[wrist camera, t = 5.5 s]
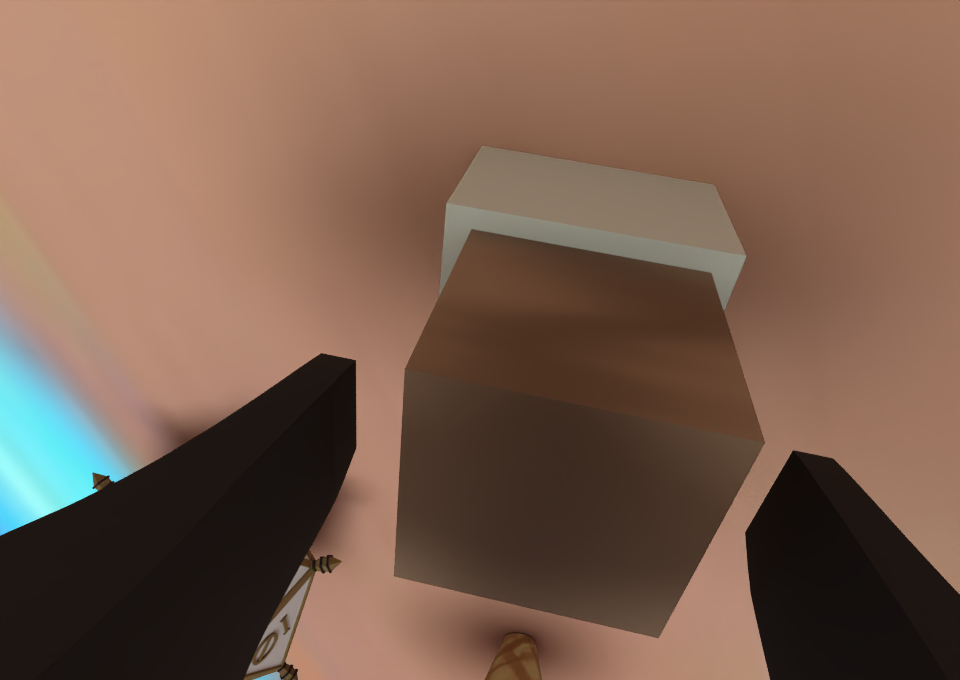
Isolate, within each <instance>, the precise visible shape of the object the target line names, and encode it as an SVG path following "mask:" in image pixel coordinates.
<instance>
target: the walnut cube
mask: <svg viewBox="0 0 960 680" xmlns="http://www.w3.org/2000/svg"><path fill="white" fill-rule="evenodd" d="M764 443H765V441H764V438H763V435H762V432H761V429H760V425H759V422H758V419H757V416H756V413H755V409H754V406H753V403H752V400H751V397H750V394H749V390H748V387H747V384H746V381H745V378H744V374H743V371H742V368H741V365H740V362H739V359H738V355H737V352H736V349H735V346H734V343H733V340H732V336H731V333H730V330H729V327H728V324H727V320H726V317H725V314H724V311H723V308H722V305H721V301H720V298H719V295H718V292H717V289H716V285H715V282H714V279H713V276H712V273H709V272H704V271H698V270H693V269H687V268H682V267H676V266H671V265H665V264H660V263H654V262H649V261H644V260H638V259H633V258H627V257H622V256H616V255H611V254H605V253H600V252H594V251H589V250H583V249H578V248H572V247H567V246H562V245H556V244H551V243H545V242H540V241H534V240H529V239H523V238H518V237H512V236H507V235H501V234H496V233H490V232H485V231H480V230H474V229H471V231H470V233H469V235H468V238H467V240H466V242H465V244H464V246H463V248H462V250H461V252H460V254H459V256H458V259H457V261H456V263H455V265H454V267H453V269H452V271H451V273H450V275H449V277H448V280H447V282H446V284H445V286H444V288H443V290H442V292H441V294H440V296H439V298H438V301H437V303H436V305H435V307H434V309H433V311H432V313H431V315H430V317H429V319H428V322H427V324H426V326H425V328H424V330H423V332H422V334H421V336H420V338H419V340H418V343H417V345H416V347H415V349H414V351H413V353H412V355H411V357H410V359H409V361H408V364H407V366H406V368H405V377H404V396H403V415H402V434H401V453H400V472H399V490H398V509H397V528H396V547H395V566H394V576H395V577H399V578H403V579H408V580H412V581H416V582H421V583H425V584H429V585H433V586H438V587H442V588H446V589H450V590H455V591H459V592H463V593H468V594H472V595H476V596H480V597H485V598H489V599H493V600H497V601H502V602H506V603H510V604H515V605H519V606H523V607H527V608H532V609H536V610H540V611H544V612H549V613H553V614H557V615H561V616H566V617H570V618H574V619H579V620H583V621H587V622H591V623H596V624H600V625H604V626H608V627H613V628H617V629H621V630H626V631H630V632H634V633H638V634H643V635H647V636H651V637H655V638H659V636H660V634H661V633H662V631H663V629H664V627H665V625H666V623H667V622H668V620H669V618H670V616H671V614H672V612H673V611H674V609H675V607H676V605H677V603H678V601H679V600H680V598H681V596H682V594H683V592H684V590H685V589H686V587H687V585H688V583H689V581H690V579H691V578H692V576H693V574H694V572H695V570H696V568H697V567H698V565H699V563H700V561H701V559H702V557H703V555H704V554H705V552H706V550H707V548H708V546H709V544H710V543H711V541H712V539H713V537H714V535H715V533H716V532H717V530H718V528H719V526H720V524H721V522H722V521H723V519H724V517H725V515H726V513H727V511H728V510H729V508H730V506H731V504H732V502H733V500H734V499H735V497H736V495H737V493H738V491H739V489H740V488H741V486H742V484H743V482H744V480H745V478H746V477H747V475H748V473H749V471H750V469H751V467H752V465H753V464H754V462H755V460H756V458H757V456H758V454H759V453H760V451H761V449H762V447H763V445H764Z"/></svg>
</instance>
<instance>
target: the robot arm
mask: <svg viewBox="0 0 960 680" xmlns="http://www.w3.org/2000/svg"><path fill="white" fill-rule="evenodd" d="M355 450H356V360H352V359H347V358H342V357H337V356H332V355H327V354H322V353H321V354H320V355H318V356H317V357H315V358H314V359H312V360H311V361H309V362H307V363H306V364H304V365H303V366H302V367H300V368H299V369H297V370H296V371H294V372H293V373H291V374H290V375H289V376H287V377H286V378H284V379H283V380H281V381H280V382H278V383H277V384H276V385H274V386H273V387H271V388H270V389H268V390H267V391H265V392H264V393H263V394H261V395H260V396H258V397H257V398H255V399H254V400H252V401H251V402H249V403H248V404H246V405H245V406H243V407H242V408H240V409H239V410H237V411H236V412H234V413H233V414H231V415H230V416H228V417H227V418H225V419H223V420H222V421H220V422H219V423H217V424H216V425H214V426H213V427H211V428H210V429H208V430H206V431H205V432H203V433H201V434H200V435H198V436H196V437H195V438H193V439H191V440H190V441H188V442H186V443H185V444H183V445H181V446H180V447H178V448H177V449H175V450H173V451H172V452H170V453H168V454H167V455H165V456H163V457H162V458H160V459H158V460H156V461H155V462H153V463H151V464H149V465H147V466H146V467H144V468H142V469H140V470H138V471H136V472H134V473H133V474H131V475H129V476H127V477H125V478H123V479H121V480H119V481H117V482H115V483H113V484H111V485H109V486H107V487H105V488H103V489H101V490H99V491H97V492H95V493H93V494H91V495H89V496H87V497H86V498H83V499H81V500H79V501H77V502H75V503H73V504H71V505H69V506H67V507H64V508H62V509H60V510H58V511H55V512H53V513H51V514H49V515H46V516H44V517H42V518H39V519H37V520H35V521H33V522H30V523H28V524H26V525H24V526H21V527H19V528H17V529H14V530H12V531H10V532H8V533H5V534H3V535H1V536H0V680H244V678H245V675H246V673H247V671H248V668H249V666H250V664H251V661H252V659H253V657H254V654H255V652H256V650H257V647H258V645H259V643H260V641H261V639H262V637H263V635H264V633H265V631H266V629H267V627H268V625H269V623H270V621H271V619H272V617H273V615H274V613H275V611H276V609H277V608H278V606H279V604H280V602H281V600H282V598H283V597H284V595H285V593H286V591H287V589H288V587H289V586H290V584H291V582H292V580H293V578H294V576H295V575H296V573H297V571H298V569H299V567H300V565H301V564H302V562H303V560H304V558H305V556H306V554H307V553H308V551H309V549H310V547H311V545H312V543H313V542H314V540H315V538H316V536H317V534H318V532H319V530H320V529H321V527H322V525H323V523H324V521H325V519H326V517H327V515H328V514H329V512H330V510H331V508H332V506H333V504H334V502H335V500H336V498H337V496H338V493H339V491H340V488H341V486H342V483H343V481H344V478H345V476H346V473H347V471H348V468H349V465H350V463H351V460H352V458H353V455H354V452H355ZM745 535H746V549H747V562H748V572H749V581H750V591H751V597H752V601H753V606H754V611H755V615H756V620H757V624H758V629H759V633H760V638H761V642H762V646H763V651H764V655H765V659H766V664H767V668H768V672H769V676H770V680H960V594H959V593H958V592H957V591H956V590H955V589H954V588H953V587H952V586H951V585H950V584H949V583H948V582H947V581H946V580H945V579H944V578H943V576H942V575H941V574H940V573H939V572H938V571H937V570H936V569H935V568H934V567H933V566H932V565H931V564H930V563H929V561H928V560H927V559H926V558H925V557H924V556H923V555H922V554H921V553H920V552H919V551H918V550H917V548H916V547H915V546H914V545H913V544H912V543H911V542H910V541H909V540H908V539H907V537H906V536H905V535H904V534H903V533H902V532H901V531H900V530H899V529H898V528H897V526H896V525H895V524H894V523H893V522H892V521H891V520H890V519H889V518H888V517H887V515H886V514H885V513H884V512H883V511H882V510H881V509H880V508H879V507H878V505H877V504H876V503H875V502H874V501H873V500H872V499H871V498H870V497H869V496H868V495H867V493H866V492H865V491H864V490H863V489H862V488H861V487H860V486H859V485H858V484H857V483H856V481H855V480H854V479H853V478H852V477H851V476H850V475H849V474H848V473H847V472H846V471H845V470H844V469H843V468H842V467H841V466H840V465H839V464H838V463H837V462H836V461H835V460H834V459H833V458H828V457H823V456H818V455H814V454H809V453H804V452H799V451H794V450H793V452H792V453H791V455H790V457H789V459H788V460H787V462H786V464H785V465H784V467H783V469H782V471H781V472H780V474H779V476H778V477H777V479H776V481H775V482H774V484H773V486H772V488H771V489H770V491H769V493H768V494H767V496H766V498H765V500H764V501H763V503H762V505H761V506H760V508H759V510H758V512H757V513H756V515H755V517H754V518H753V520H752V522H751V523H750V525H749V527H748V529H747V530H746V532H745Z"/></svg>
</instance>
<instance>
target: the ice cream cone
mask: <svg viewBox="0 0 960 680" xmlns="http://www.w3.org/2000/svg"><path fill="white" fill-rule="evenodd" d="M485 680H542V679H541V673H540V667H539V661H538V656H537V650H536V644H535V642H534V640H533V639H532V638H531V637H529V636H527V635H525V634H520V633H511V634H508V635H506V636H505V638H504V640H503V642H502V644H501V646H500V648H499V650H498V653H497V655H496V657H495V659H494V661H493V663H492V666H491V668H490V670H489V672H488V674H487V676H486V678H485Z"/></svg>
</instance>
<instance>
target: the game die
mask: <svg viewBox="0 0 960 680" xmlns="http://www.w3.org/2000/svg"><path fill="white" fill-rule="evenodd" d="M109 477H110V476H104V475H100V474H96V473H93V483H94V487H93V489H94V488H96V489H97V490H98V491H99V490H101V489H103V488H105V487H107V486H109V485H111V484H113V483H114V481H111V480H110V479H109ZM311 546H312V545H311ZM341 562H342V561H340V560H338V559H336V558H334V557H333V555H327V557H320V559H318V560H315V558H314V557H313V555H312V553H311V552H310V550H309V551H308V553H307V554H306V556H305V558H304V560H303V562H302V564H301V565H300V567H299V569H298V571H297V573H296V575H295V576H294V578H293V580H292V582H291V584H290V586H289V587H288V589H287V591H286V593H285V595H284V597H283V598H282V600H281V602H280V604H279V606H278V608H277V609H276V611H275V613H274V615H273V617H272V619H271V621H270V623H269V625H268V627H267V629H266V631H265V633H264V635H263V637H262V639H261V641H260V643H259V645H258V647H257V650H256V652H255V654H254V657H253V659H252V661H251V664H250V666H249V668H248V671H247V673H246V675H245V678H244V680H253V679H256V678H259V677H261V676H264V675H267V674H270V673H273V672H276V671H277V672H279V673H280V678H281V680H282V679H283V680H298V677H297V671H298V669H294V668H293V665H288V664H286V662H285V660H286V657H287V654H288V651H289V648H290V645H291V642H292V639H293V636H294V633H295V631H296V628H297V625H298V622H299V619H300V616H301V613H302V610H303V607H304V604H305V601H306V598H307V595H308V592H309V589H310V586H311V583H312V580H313V578H314V575H315V572H316V571H321V572H322V573H325V572H328V571H329V573H331V572H332V570H333V569H334V568H335V567H336V566H337V565H339V564H340V563H341Z"/></svg>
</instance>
